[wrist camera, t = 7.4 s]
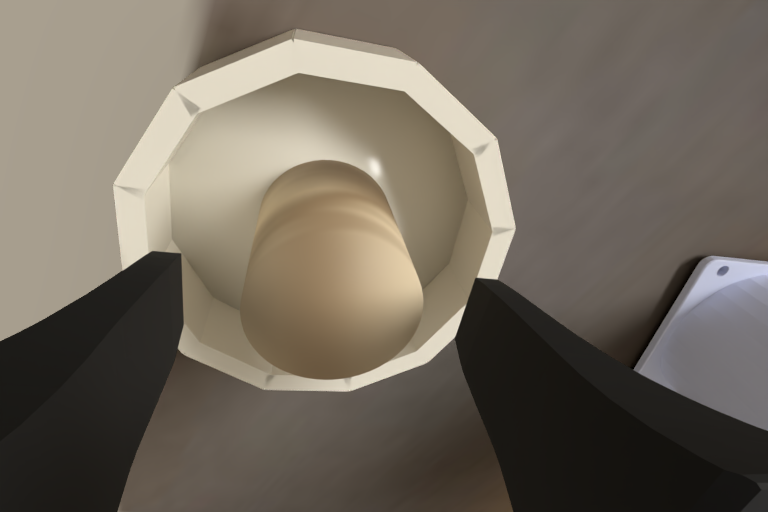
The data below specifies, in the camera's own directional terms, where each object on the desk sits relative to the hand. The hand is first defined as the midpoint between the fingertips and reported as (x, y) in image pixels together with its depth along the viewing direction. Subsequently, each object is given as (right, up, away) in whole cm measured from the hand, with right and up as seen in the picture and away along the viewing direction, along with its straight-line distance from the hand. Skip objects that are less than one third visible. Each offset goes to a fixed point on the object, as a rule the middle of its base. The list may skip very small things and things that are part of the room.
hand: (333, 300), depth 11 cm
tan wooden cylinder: (-1, +2, +4) cm, 5 cm away
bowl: (-1, +3, +4) cm, 5 cm away
